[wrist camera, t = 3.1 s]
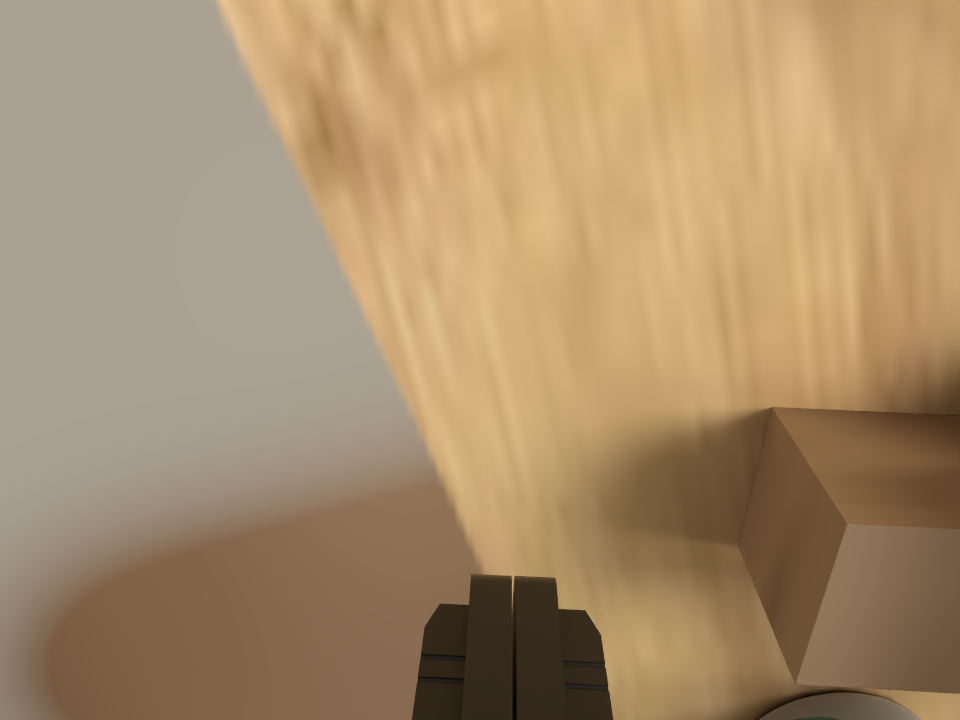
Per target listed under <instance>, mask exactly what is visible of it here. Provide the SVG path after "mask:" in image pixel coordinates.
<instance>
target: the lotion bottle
mask: <svg viewBox="0 0 960 720" xmlns="http://www.w3.org/2000/svg"><path fill="white" fill-rule="evenodd" d="M759 720H920V719H919V718H918V717H917V716H916V715H915V714H914V713H912V712H911V711H910V710H908V709H907V708H905V707H903V706H901V705H899V704H897V703H895V702H893V701H891V700H888V699H885V698H882V697H878V696H874V695H869V694H862V693H848V692H847V693H827V694H820V695H815V696H810V697H806V698H802V699H799V700H796V701H793V702H790V703H788V704H785V705H783V706H781V707H779V708H777V709H775V710H773V711H771V712H770V713H768V714H766V715H765V716H763V717H762V718H761V719H759Z"/></svg>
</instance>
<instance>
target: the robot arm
mask: <svg viewBox="0 0 960 720" xmlns="http://www.w3.org/2000/svg"><path fill="white" fill-rule="evenodd" d="M412 720H613V715H612V708H611V701H610V694H609V691H608V681H607V674H606V668H605V660H604V653H603V647H602V640H601V634H600V633H599V631H598V630H597V628H596V627H595V625H594V623H593V622H592V620H591V619H590V617H589V616H588V614H587V612H586V611H585V610H566V609H558V597H557V586H556V579H555V578H547V577H526V576H515V578H514V591H513V607H512V578H511V576H500V575H479V574H472V575H471V586H470V599H469V605H457V604H455V605H454V604H440V605H439V606H438V608H437V609H436V611H435V612H434V613H433V615H432V617H431V618H430V620H429V621H428V623H427V624H426V626H425V629H424V636H423V643H422V651H421V659H420V666H419V673H418V682H417V687H416V695H415V702H414V709H413V716H412Z"/></svg>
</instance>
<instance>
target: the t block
mask: <svg viewBox="0 0 960 720" xmlns="http://www.w3.org/2000/svg"><path fill="white" fill-rule="evenodd" d="M738 547H739V549H740V552H741V554H742V557H743V559H744V561H745V564H746V566H747V569H748V571H749V573H750V576H751V578H752V581H753V583H754V586H755V588H756V590H757V593H758V595H759V598H760V600H761V602H762V605H763V607H764V610H765V612H766V614H767V617H768V619H769V622H770V624H771V627H772V629H773V631H774V634H775V636H776V639H777V641H778V643H779V646H780V648H781V651H782V653H783V656H784V658H785V660H786V663H787V665H788V668H789V670H790V672H791V675H792V677H793V680H794V682H795V684H799V685H816V686H834V687H852V688H870V689H888V690H905V691H923V692H941V693H959V694H960V415H937V414H914V413H892V412H869V411H846V410H824V409H801V408H778V407H772V409H771V413H770V417H769V422H768V426H767V430H766V434H765V438H764V442H763V447H762V451H761V455H760V459H759V463H758V467H757V471H756V476H755V480H754V484H753V488H752V492H751V496H750V500H749V505H748V509H747V513H746V517H745V521H744V525H743V529H742V534H741V538H740V542H739V546H738Z"/></svg>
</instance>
